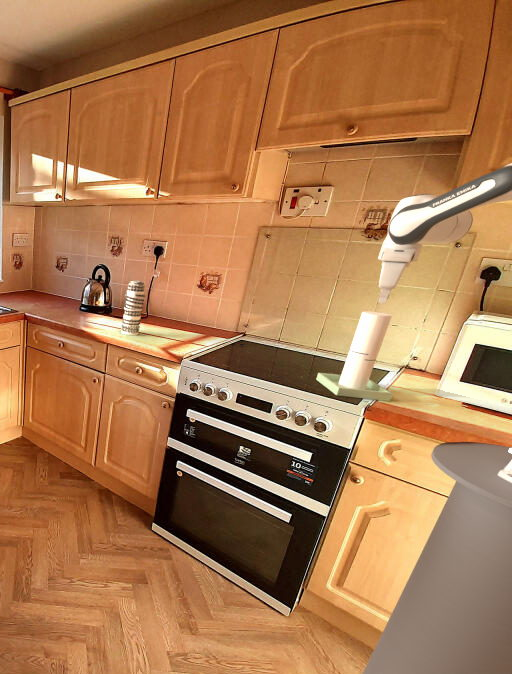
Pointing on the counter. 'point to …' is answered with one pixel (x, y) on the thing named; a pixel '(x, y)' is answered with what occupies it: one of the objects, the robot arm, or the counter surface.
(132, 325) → the leaning tower model
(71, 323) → the counter surface
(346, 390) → the tray
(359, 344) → the cylindrical container
